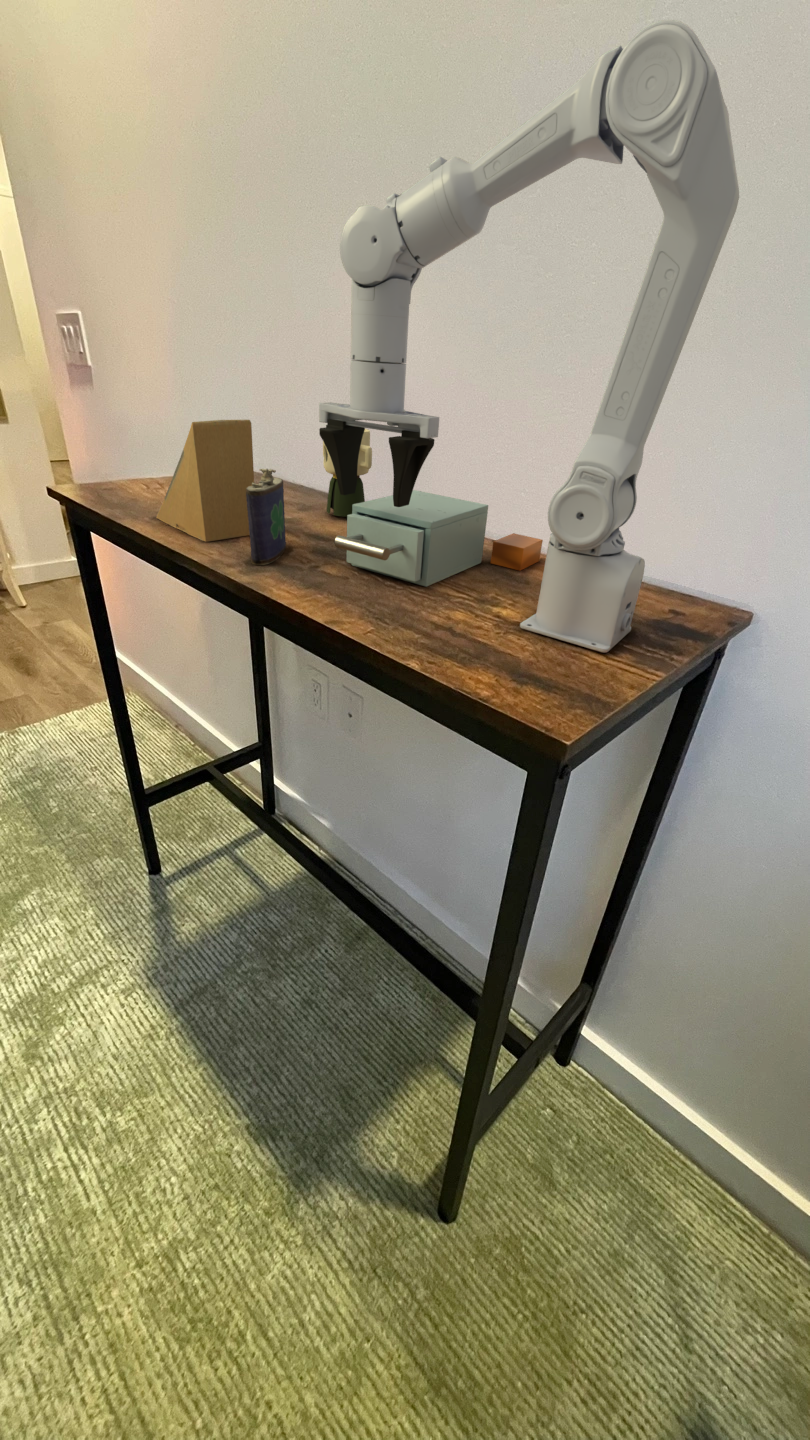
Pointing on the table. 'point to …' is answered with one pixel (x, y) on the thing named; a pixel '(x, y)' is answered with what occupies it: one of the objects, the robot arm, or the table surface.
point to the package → (516, 551)
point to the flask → (266, 518)
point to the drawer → (384, 545)
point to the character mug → (345, 502)
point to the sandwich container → (212, 481)
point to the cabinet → (437, 531)
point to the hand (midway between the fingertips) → (373, 499)
